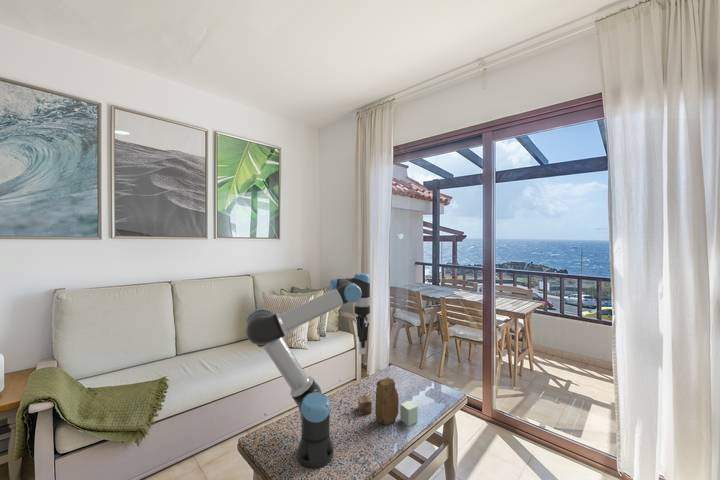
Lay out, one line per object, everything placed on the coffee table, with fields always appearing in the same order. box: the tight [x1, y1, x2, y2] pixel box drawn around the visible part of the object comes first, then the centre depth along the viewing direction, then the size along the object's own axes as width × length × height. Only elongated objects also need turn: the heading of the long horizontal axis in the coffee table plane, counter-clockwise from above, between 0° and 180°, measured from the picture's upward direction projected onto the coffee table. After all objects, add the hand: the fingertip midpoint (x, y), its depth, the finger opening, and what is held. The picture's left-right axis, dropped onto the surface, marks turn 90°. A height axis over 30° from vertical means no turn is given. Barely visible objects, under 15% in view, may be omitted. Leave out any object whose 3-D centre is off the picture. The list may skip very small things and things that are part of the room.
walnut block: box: [357, 395, 373, 415], centre depth 159 cm, size 6×6×6 cm
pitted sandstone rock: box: [374, 377, 400, 425], centre depth 151 cm, size 11×8×20 cm
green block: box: [399, 400, 419, 427], centre depth 150 cm, size 6×6×8 cm
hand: (362, 353), depth 147 cm, fingers closed
